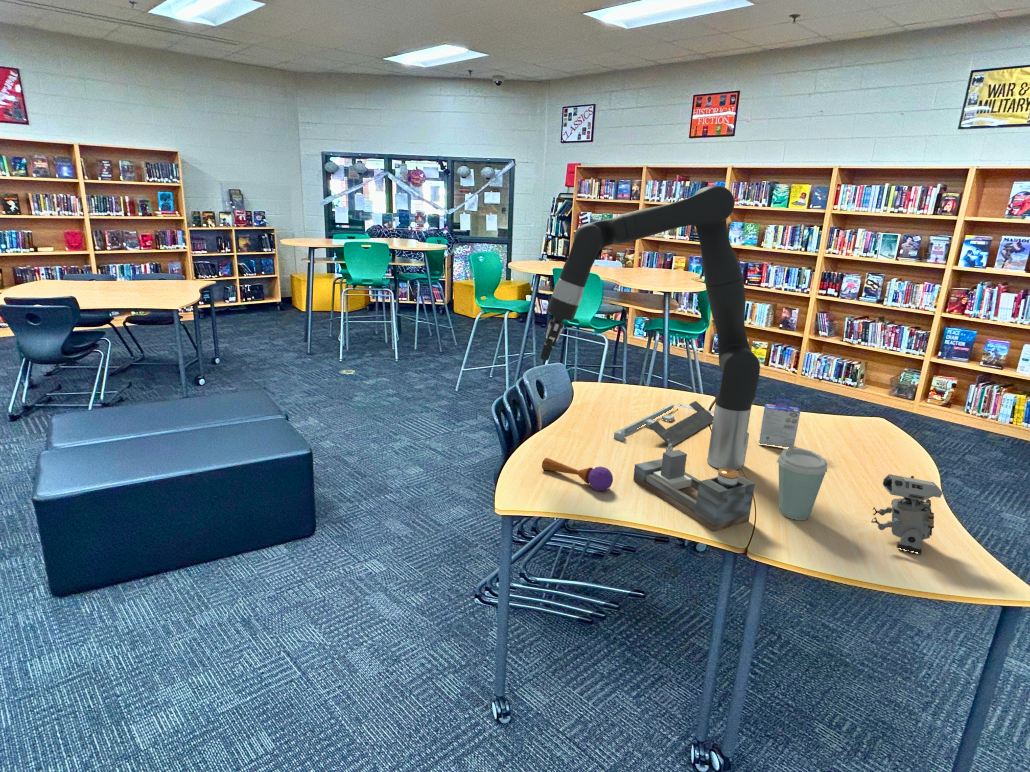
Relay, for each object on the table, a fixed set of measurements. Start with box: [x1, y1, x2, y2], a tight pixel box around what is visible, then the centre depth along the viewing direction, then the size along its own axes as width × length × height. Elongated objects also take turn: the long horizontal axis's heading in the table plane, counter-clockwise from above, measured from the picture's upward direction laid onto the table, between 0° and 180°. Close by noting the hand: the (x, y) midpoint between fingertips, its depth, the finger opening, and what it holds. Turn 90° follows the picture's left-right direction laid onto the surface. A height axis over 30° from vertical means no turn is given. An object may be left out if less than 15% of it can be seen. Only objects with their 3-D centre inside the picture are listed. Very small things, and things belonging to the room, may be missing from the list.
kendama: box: [541, 457, 614, 492], centre depth 157 cm, size 6×6×20 cm
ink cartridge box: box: [758, 397, 801, 448], centre depth 185 cm, size 10×6×14 cm, turn 70°
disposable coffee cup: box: [776, 447, 828, 521], centre depth 142 cm, size 11×11×15 cm
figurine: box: [871, 473, 943, 554], centre depth 132 cm, size 9×12×15 cm
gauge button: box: [717, 468, 740, 489], centre depth 137 cm, size 4×4×4 cm
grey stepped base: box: [632, 458, 756, 532], centre depth 148 cm, size 11×28×10 cm, turn 28°
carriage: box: [653, 449, 692, 489], centre depth 153 cm, size 6×7×8 cm
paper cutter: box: [613, 400, 714, 452], centre depth 197 cm, size 18×45×6 cm, turn 140°
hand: (544, 356), depth 165 cm, fingers open, 8 cm apart
